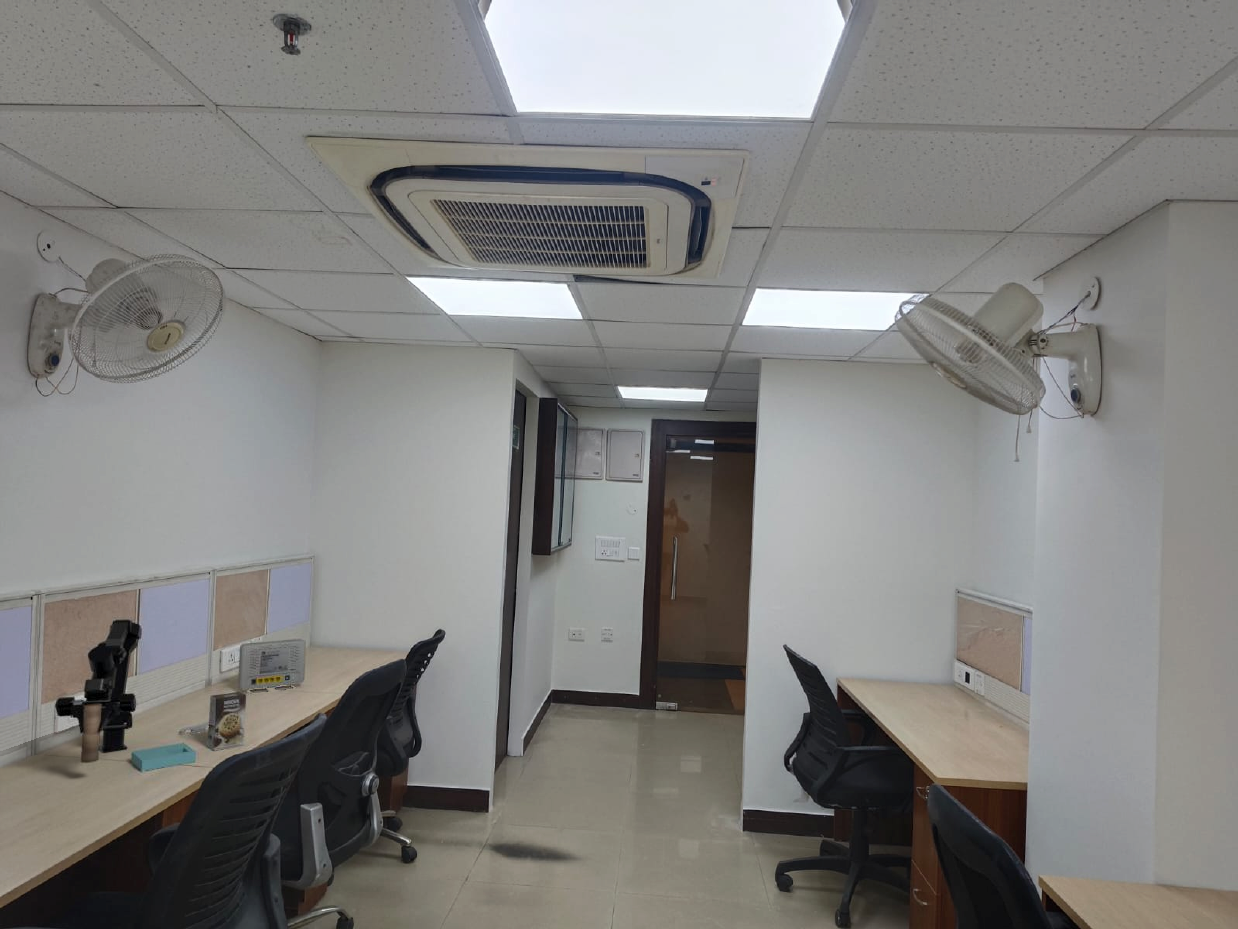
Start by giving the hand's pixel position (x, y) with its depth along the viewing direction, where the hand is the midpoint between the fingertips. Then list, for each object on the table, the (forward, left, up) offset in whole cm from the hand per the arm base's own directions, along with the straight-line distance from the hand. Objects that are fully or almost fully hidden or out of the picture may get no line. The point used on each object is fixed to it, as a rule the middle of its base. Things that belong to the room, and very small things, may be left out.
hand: (90, 732), depth 217 cm
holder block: (-6, +20, -13) cm, 25 cm away
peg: (-1, +1, -8) cm, 8 cm away
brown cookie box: (-11, +39, -14) cm, 43 cm away
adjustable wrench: (-40, +44, -14) cm, 61 cm away
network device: (-83, +80, -14) cm, 116 cm away
